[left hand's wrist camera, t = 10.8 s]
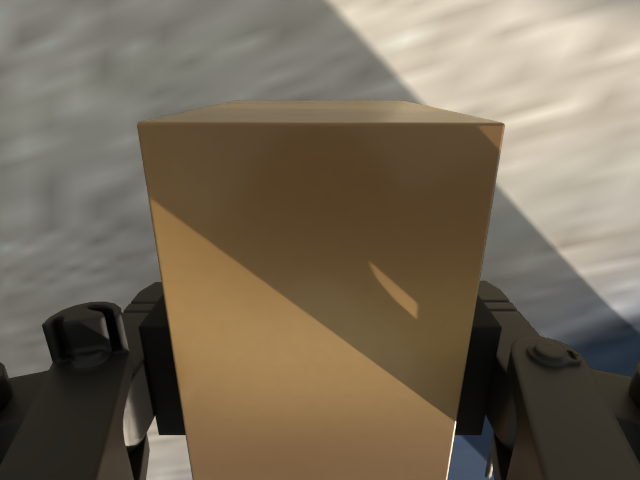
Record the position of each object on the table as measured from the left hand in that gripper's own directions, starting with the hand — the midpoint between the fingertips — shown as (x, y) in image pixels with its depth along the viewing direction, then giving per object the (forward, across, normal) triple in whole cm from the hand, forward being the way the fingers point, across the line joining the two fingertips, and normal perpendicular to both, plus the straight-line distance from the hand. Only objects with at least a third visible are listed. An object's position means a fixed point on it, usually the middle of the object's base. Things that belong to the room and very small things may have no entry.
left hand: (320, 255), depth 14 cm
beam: (+1, 0, -28) cm, 28 cm away
